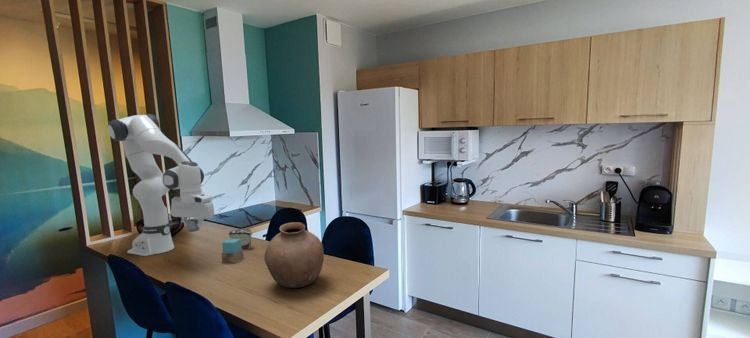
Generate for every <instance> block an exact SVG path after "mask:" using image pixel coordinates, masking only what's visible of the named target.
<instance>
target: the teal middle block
mask: <svg viewBox="0 0 750 338" xmlns="http://www.w3.org/2000/svg"><path fill="white" fill-rule="evenodd" d="M221 244H222V252H223V253H236V252H238V251H239V250H241V249H242V247H241V239H230V238H229V239H226V240H225V241H222V243H221Z"/></svg>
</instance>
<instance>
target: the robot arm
mask: <svg viewBox="0 0 750 338" xmlns="http://www.w3.org/2000/svg"><path fill="white" fill-rule="evenodd" d="M160 127H161V126H160V122H159V120H158V117H156V116H155V115H154V114H152V113H144V114H136V115H131V116H126V117H122V118H119V119H117V118H116V119H113V120H110V121H109V122H108V124H107V132H108V134H109V136H110V138H111V139H112V140H113V141H116V142H122V148H123V150H124V154H125V157H126V158H127V160H128V163H129V166H130V169H131V171H132V172H133V173H135V174H136V175H137V176H138V177H139V179H140V180H141V181H139V182H138V183H136V184H134V187H133V189H132V194H133V195H132V196H133V197H134V198H135V200H137V201H138V203H139V205H140V209H141V211H142V216H143V224H144V225H143V226H141V227H140V230H142V231H141V233H140V234H139V235H138V236H136V237H135V238H134V239H133V240H132V247H131V248H130V249H129V250H127V254H130V255H131V254H132V255H136V256H142V257H147V256H152V255H158V254H159V255H160V254H163V253H166V252H167V253H168V252H170V251H172V250H174V249H175V244H174V242H173V237H172V234H171V224H170V222H169V213H168V212H169V211H168V208H167V206H165V204H164V201H163V198H162V197H163V196H165V195H166V194H167V193H169V191H170V190H179V196H174V197H173V198H171V206H170V214H171V216H172V217H173V218H181V221H182V223H183V225H184V227H186V228H187V220H188V219H192V218H198V220H199V223H197V227H199V228H202V227H203V222H204V219H211V218H213V217H214V216H215V208H214V203H213V201H212V200H213V196H212V195H210V194H208V193H205V192H203V189H202V187H201V184H202V183H203V181H204V180H205V174H204V171H203V170H202V169H201V167H200V166H199V164H198V163H197V162H194V161H193V160H192V159H191V158H190V157H189V156H188V155H187V154H186V153H185V152H184V151H183V149H182V148H181V147H180V145H178V144H176V143H175V142H174V141H172V140H171V139H169V138H168V137H167V136H166V135H165V134H164V133H163V132H162V131H161V129H160ZM154 155H157V156H158V155H159V156H164V157H167V158H170V159H172V160H173V161H174V162H175V163H176V166H175V167H171V168H169V169H165V170H166V171H164V173H163V172H162V170H161V169H160V168H159V166H158V164H157V161H156V160H155V157H154Z"/></svg>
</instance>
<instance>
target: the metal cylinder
mask: <svg viewBox="0 0 750 338" xmlns="http://www.w3.org/2000/svg"><path fill="white" fill-rule="evenodd" d="M197 223H199V220H198V218H187V227H186V229H187V232H189V233H192V232H198V231H200V229H201V228H200V227H197Z"/></svg>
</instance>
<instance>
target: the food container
mask: <svg viewBox="0 0 750 338" xmlns="http://www.w3.org/2000/svg"><path fill="white" fill-rule="evenodd" d="M252 235H253V233H252V230H251V229H250V228H239V229H233V230H229V231H228V236H229V239H241V247H242V249H243V251H250V250H251V249H252V247H251V245H252V244H251V243H252V242H251V241H252Z"/></svg>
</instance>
